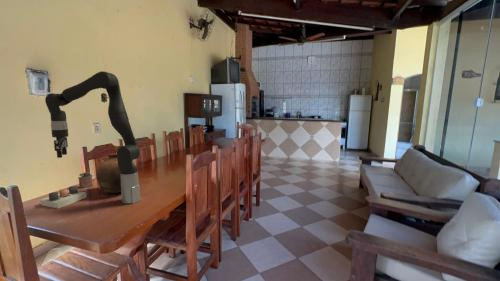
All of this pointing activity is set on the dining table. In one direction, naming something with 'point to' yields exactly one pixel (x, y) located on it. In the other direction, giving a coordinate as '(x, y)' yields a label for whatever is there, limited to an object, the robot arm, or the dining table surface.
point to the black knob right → (73, 189)
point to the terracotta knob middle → (63, 192)
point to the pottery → (109, 175)
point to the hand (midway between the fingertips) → (62, 156)
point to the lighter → (85, 180)
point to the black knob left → (53, 196)
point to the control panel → (63, 200)
